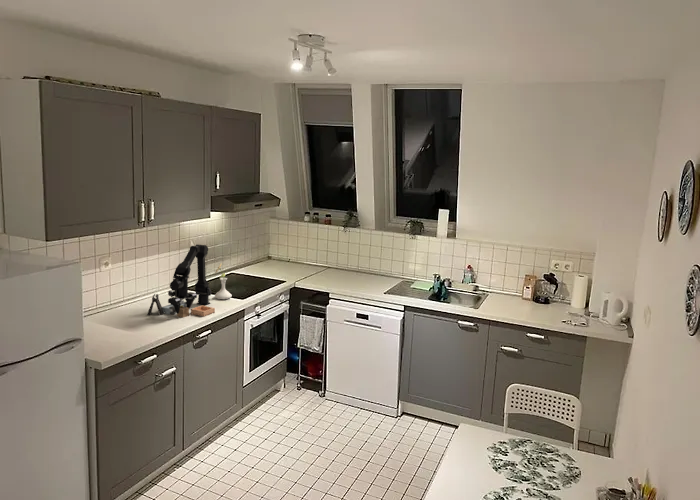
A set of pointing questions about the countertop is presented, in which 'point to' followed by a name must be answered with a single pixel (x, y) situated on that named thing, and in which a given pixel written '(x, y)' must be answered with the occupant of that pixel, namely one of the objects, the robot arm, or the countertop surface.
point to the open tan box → (202, 310)
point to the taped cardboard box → (183, 312)
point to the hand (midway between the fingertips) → (182, 311)
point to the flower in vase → (223, 292)
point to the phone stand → (156, 304)
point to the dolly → (172, 308)
